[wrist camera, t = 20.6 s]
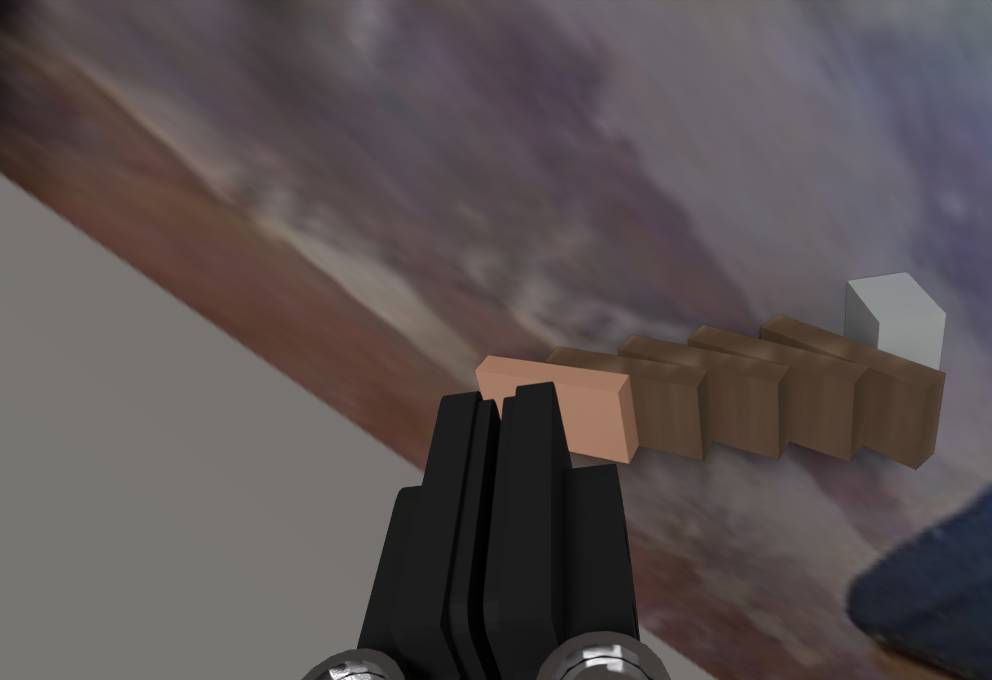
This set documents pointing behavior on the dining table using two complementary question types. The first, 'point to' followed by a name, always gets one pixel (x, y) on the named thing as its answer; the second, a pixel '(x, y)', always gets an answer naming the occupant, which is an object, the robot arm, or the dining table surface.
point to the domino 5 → (879, 390)
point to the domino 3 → (732, 393)
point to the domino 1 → (573, 403)
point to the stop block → (895, 318)
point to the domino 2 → (657, 399)
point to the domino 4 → (807, 390)
